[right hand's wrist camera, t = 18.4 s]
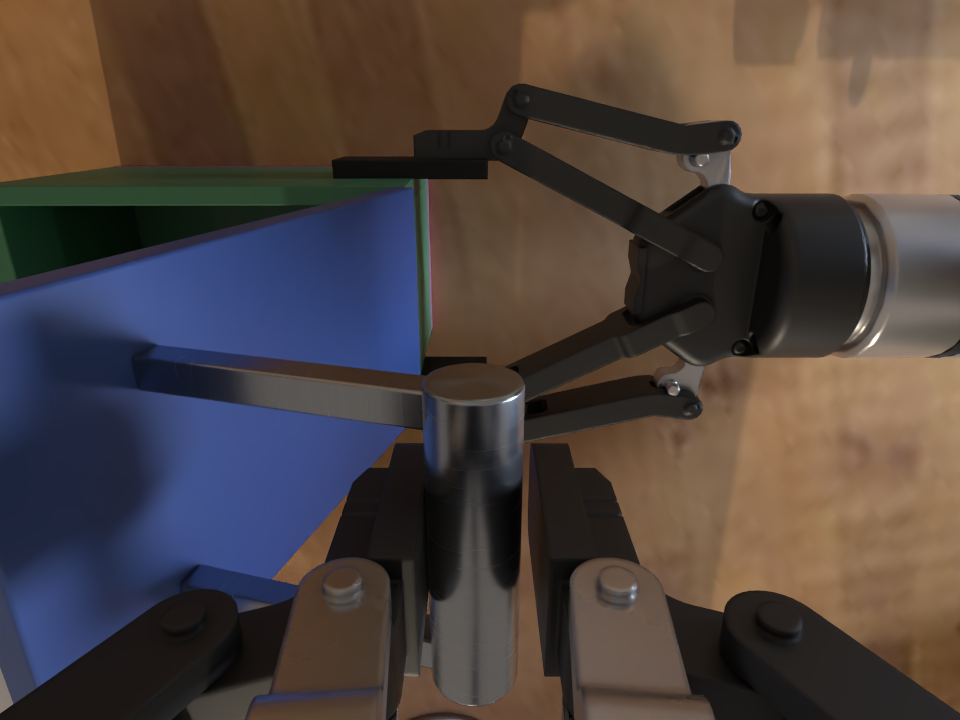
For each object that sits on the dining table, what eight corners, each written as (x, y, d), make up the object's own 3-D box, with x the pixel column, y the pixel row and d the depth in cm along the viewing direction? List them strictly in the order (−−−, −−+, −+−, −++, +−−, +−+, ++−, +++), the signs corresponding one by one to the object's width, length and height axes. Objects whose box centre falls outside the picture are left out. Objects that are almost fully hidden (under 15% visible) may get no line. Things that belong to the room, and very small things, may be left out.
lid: (42, 790, 11) (460, 942, 9) (-132, 314, 8) (449, 381, 6) (404, 407, 27) (596, 432, 25) (394, 186, 23) (613, 193, 21)
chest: (152, 328, 37) (32, 404, 27) (120, 165, 34) (-29, 186, 24) (432, 327, 37) (414, 404, 27) (427, 165, 34) (405, 185, 24)
